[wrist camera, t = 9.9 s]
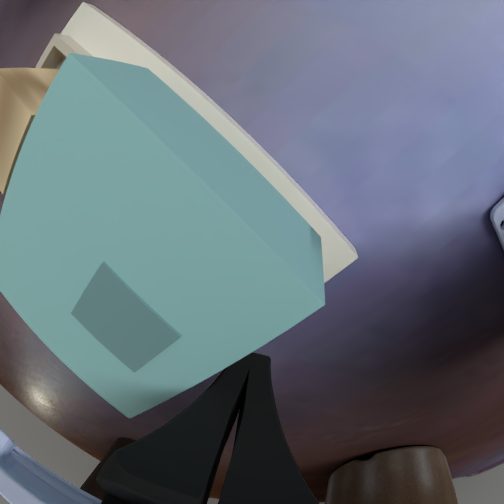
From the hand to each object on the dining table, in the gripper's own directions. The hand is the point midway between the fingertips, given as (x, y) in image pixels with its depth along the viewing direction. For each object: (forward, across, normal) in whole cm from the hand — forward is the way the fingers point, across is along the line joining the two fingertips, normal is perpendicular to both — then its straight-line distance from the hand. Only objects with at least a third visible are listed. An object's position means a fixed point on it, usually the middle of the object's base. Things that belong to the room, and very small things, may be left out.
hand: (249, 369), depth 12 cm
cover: (+2, +5, -4) cm, 7 cm away
